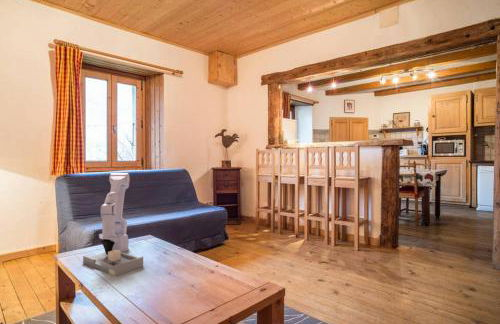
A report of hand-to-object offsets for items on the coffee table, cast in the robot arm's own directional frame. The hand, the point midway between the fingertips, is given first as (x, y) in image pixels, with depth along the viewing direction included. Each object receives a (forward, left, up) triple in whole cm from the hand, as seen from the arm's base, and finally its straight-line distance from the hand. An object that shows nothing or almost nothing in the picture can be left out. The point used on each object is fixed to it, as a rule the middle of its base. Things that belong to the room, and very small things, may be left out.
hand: (108, 253), depth 147 cm
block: (+1, +7, -1) cm, 7 cm away
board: (+2, +8, -3) cm, 9 cm away
